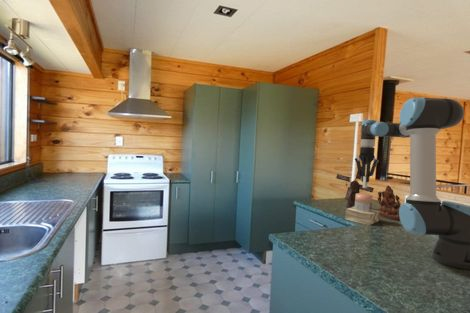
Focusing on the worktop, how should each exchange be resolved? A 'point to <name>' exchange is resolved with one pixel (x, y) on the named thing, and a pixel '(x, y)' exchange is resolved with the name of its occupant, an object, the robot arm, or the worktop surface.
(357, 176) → the miniature windmill
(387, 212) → the sculpture
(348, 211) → the square wooden block
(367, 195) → the pink mushroom-shaped knob
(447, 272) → the worktop surface
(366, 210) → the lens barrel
